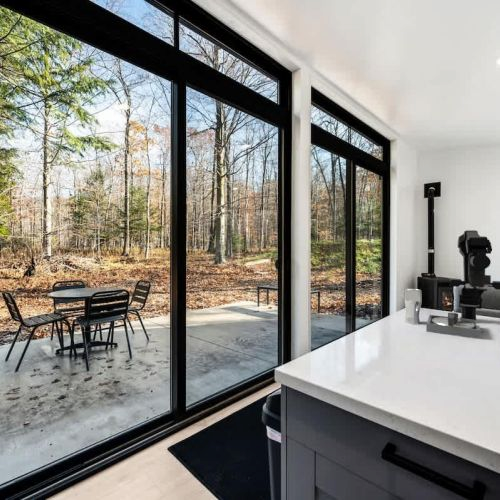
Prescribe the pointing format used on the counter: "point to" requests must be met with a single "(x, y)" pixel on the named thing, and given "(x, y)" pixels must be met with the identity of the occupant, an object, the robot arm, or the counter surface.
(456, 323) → the dial
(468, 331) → the dial base
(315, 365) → the counter surface
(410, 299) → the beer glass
